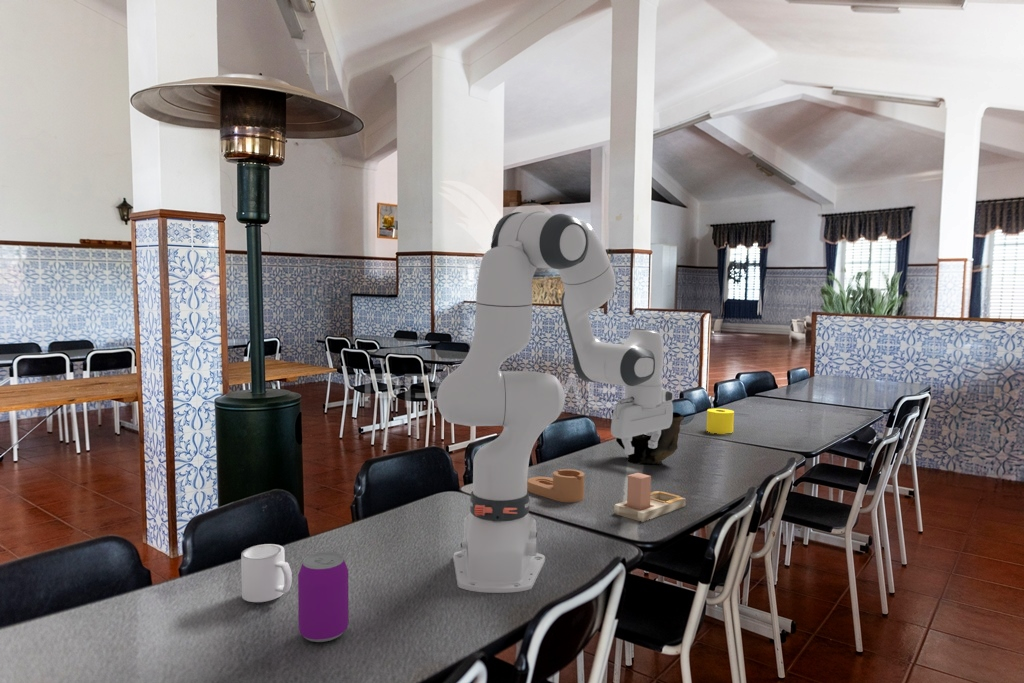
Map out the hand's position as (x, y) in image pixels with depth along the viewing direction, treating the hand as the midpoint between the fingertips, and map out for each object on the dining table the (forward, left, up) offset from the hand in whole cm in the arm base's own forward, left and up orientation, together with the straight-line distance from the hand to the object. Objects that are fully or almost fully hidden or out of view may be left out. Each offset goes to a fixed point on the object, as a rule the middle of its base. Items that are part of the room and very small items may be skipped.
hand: (641, 450), depth 166 cm
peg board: (+3, -3, -16) cm, 17 cm away
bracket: (+16, +20, -17) cm, 31 cm away
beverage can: (-62, +59, -16) cm, 87 cm away
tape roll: (+99, -45, -16) cm, 110 cm away
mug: (-49, +73, -16) cm, 89 cm away
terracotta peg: (0, 0, -16) cm, 16 cm away
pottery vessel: (+52, -9, -16) cm, 55 cm away
